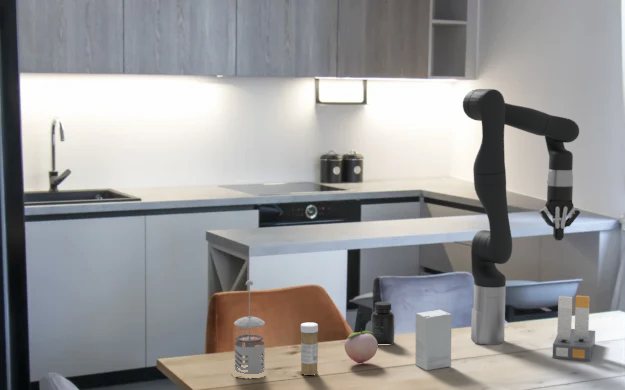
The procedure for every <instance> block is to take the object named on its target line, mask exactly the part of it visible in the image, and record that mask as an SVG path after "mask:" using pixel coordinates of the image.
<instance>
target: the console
mask: <svg viewBox="0 0 625 390" xmlns="http://www.w3.org/2000/svg"><path fill="white" fill-rule="evenodd" d="M574 336H575V328H571V340H565V339H557V336H556V337H555V339H554V341H553V343H552V359H559V360H560V359H561V360H570V361H579V362H588V363H589V362H591V359H592V355H593V353H594V352H593V351H594V348H595V345H596V330H592V329H591V330H589V329H588V339H578V338H574Z"/></svg>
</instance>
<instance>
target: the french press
mask: <svg viewBox="0 0 625 390" xmlns="http://www.w3.org/2000/svg"><path fill="white" fill-rule="evenodd" d="M253 285H254V282H253V280H249V279H248V280H247V281H246V282H245V286H248V316H243V317H240V318H238V319H237V320H235V321H234V322H233V324H234V326H236V328H237V329H236V335H235V336H236V337H235V340H236V342H235V343H234V363H235V364H234V370H236V371H237V372H240V373H244V372H241V371H239V370H238V368H240V369H241V370H248V372H245V373H244V374H259V373H262V372H264V369H265V342H264V341H263V339H264V337H263V336H262V335H260V334H252V333H251V329H254V328H255V329H256V328H261V327H263V326H264V325H265V324H266V322H265V321H264V320H263V319H261V318H259V317H257V316H252V315H251V290H250V289H251V286H253ZM239 328H240V329H239ZM247 329H248V334H244V331H246V330H247ZM239 330H241V334H240V335H238V332H239ZM243 361H244V362H243ZM241 365H243V366H245V365H248V367H246V368H243V367H241ZM237 367H238V368H237ZM263 368H264V369H263Z"/></svg>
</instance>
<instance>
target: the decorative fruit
mask: <svg viewBox="0 0 625 390" xmlns="http://www.w3.org/2000/svg"><path fill="white" fill-rule="evenodd" d="M371 334H372V335H371ZM373 335H374V334H373V333H372V332H371V331H370V330H363V328H360V331H359V332H352V333H350V334H349V335H348V337H347V338H346V340H345V342H344V351H345V353H346V355H347V356H348V357H349V359H351V360H352V361H353V362H355V363H356V364H358V363H362V364H364V363H365V362H368V361H370V360H372V358H373V357H374V356H375V355H376V353H377V351H378V348H379V347H378V346H379V345H378V343H377V340H376V338H375V337H374V336H373Z"/></svg>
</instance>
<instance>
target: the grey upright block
mask: <svg viewBox="0 0 625 390" xmlns="http://www.w3.org/2000/svg"><path fill="white" fill-rule="evenodd" d="M557 304H558V305H557V309H558V310H557V335H556V337H557V339H565V340H571V329H572V316H573V315H572V313H573V296H567V295H559V296H558V303H557Z"/></svg>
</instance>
